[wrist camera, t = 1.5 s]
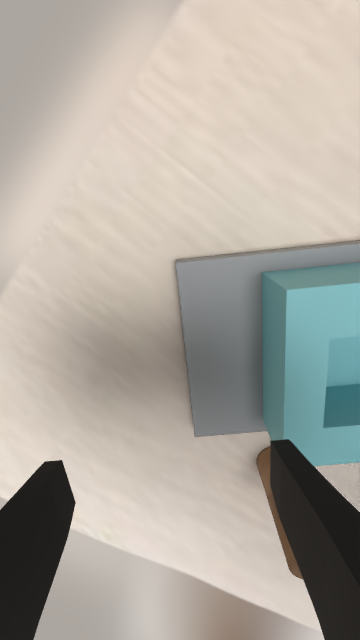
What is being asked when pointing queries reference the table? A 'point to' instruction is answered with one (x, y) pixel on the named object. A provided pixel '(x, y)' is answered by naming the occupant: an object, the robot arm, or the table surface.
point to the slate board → (235, 330)
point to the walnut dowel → (264, 471)
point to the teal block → (313, 360)
